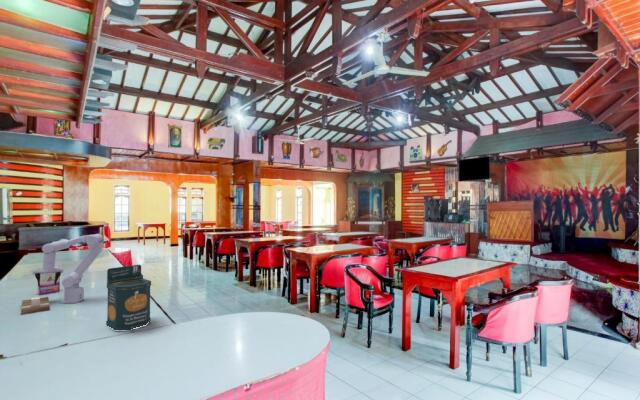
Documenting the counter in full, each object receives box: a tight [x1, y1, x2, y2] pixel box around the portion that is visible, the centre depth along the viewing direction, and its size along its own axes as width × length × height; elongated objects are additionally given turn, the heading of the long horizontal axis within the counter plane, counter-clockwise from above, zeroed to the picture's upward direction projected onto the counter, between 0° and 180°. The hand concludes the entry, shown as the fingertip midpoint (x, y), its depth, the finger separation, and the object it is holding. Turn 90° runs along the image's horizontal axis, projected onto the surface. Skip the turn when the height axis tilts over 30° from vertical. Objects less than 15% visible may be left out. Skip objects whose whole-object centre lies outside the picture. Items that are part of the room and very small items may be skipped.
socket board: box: [20, 296, 51, 316], centre depth 194 cm, size 24×12×2 cm, turn 41°
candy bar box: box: [37, 267, 61, 296], centre depth 226 cm, size 11×5×16 cm, turn 143°
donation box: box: [105, 264, 152, 331], centre depth 166 cm, size 16×16×28 cm
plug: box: [30, 296, 41, 307], centre depth 190 cm, size 4×4×6 cm
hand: (47, 285), depth 204 cm, fingers open, 7 cm apart
